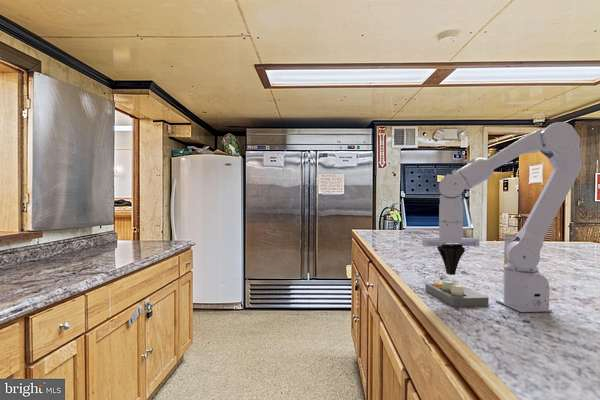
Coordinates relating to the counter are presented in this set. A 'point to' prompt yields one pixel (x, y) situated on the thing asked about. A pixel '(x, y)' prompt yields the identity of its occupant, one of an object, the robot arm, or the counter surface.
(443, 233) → the robot arm
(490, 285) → the counter surface
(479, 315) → the counter surface
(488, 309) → the counter surface
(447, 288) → the button sage
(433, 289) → the panel
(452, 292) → the button ivory
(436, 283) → the button orange
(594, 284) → the counter surface
